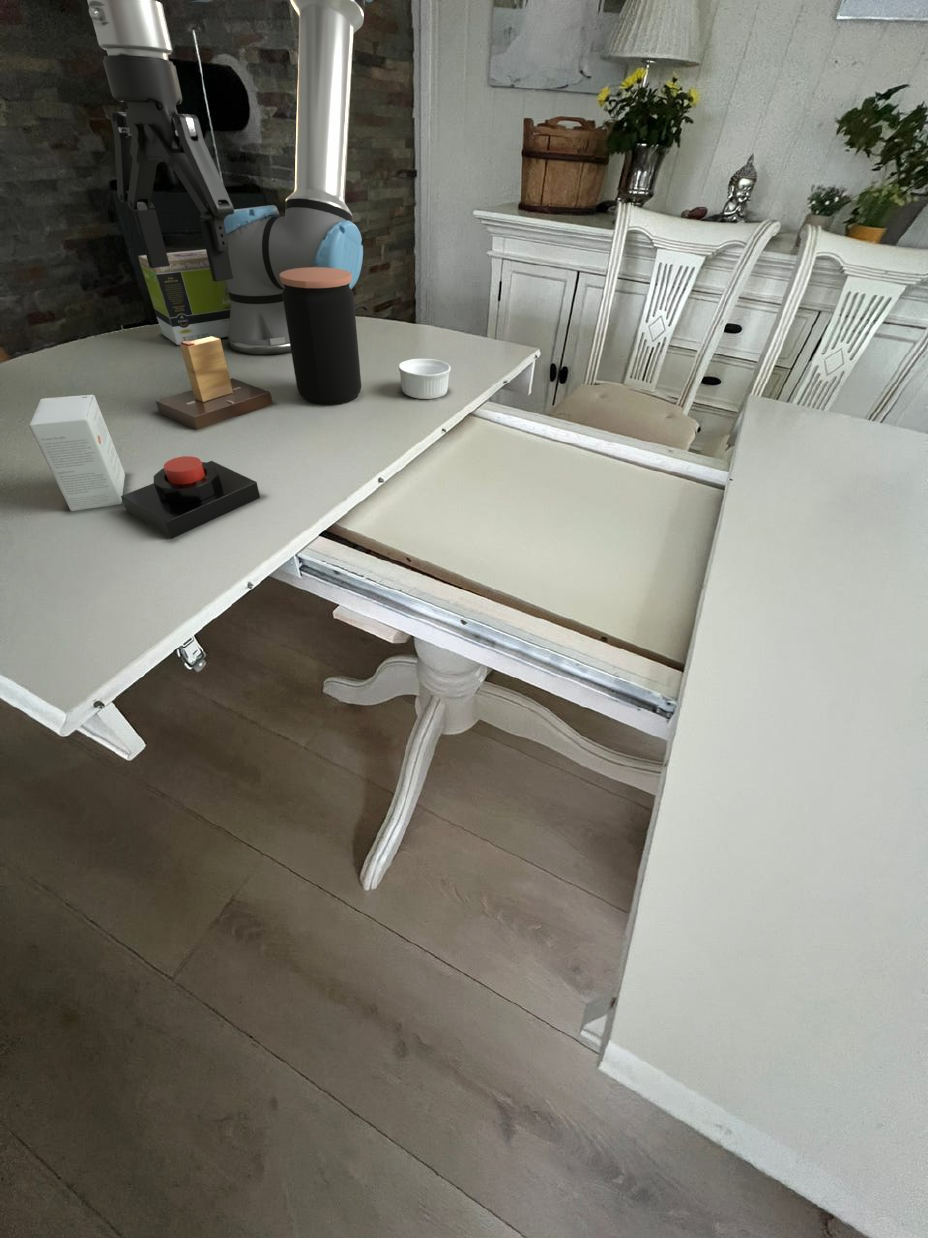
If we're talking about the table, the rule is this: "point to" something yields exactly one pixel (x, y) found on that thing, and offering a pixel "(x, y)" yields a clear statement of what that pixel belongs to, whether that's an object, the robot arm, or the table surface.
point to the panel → (214, 405)
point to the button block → (190, 499)
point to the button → (184, 470)
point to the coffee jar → (322, 334)
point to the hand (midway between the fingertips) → (190, 273)
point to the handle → (206, 368)
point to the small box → (79, 451)
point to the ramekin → (424, 378)
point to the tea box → (188, 297)
